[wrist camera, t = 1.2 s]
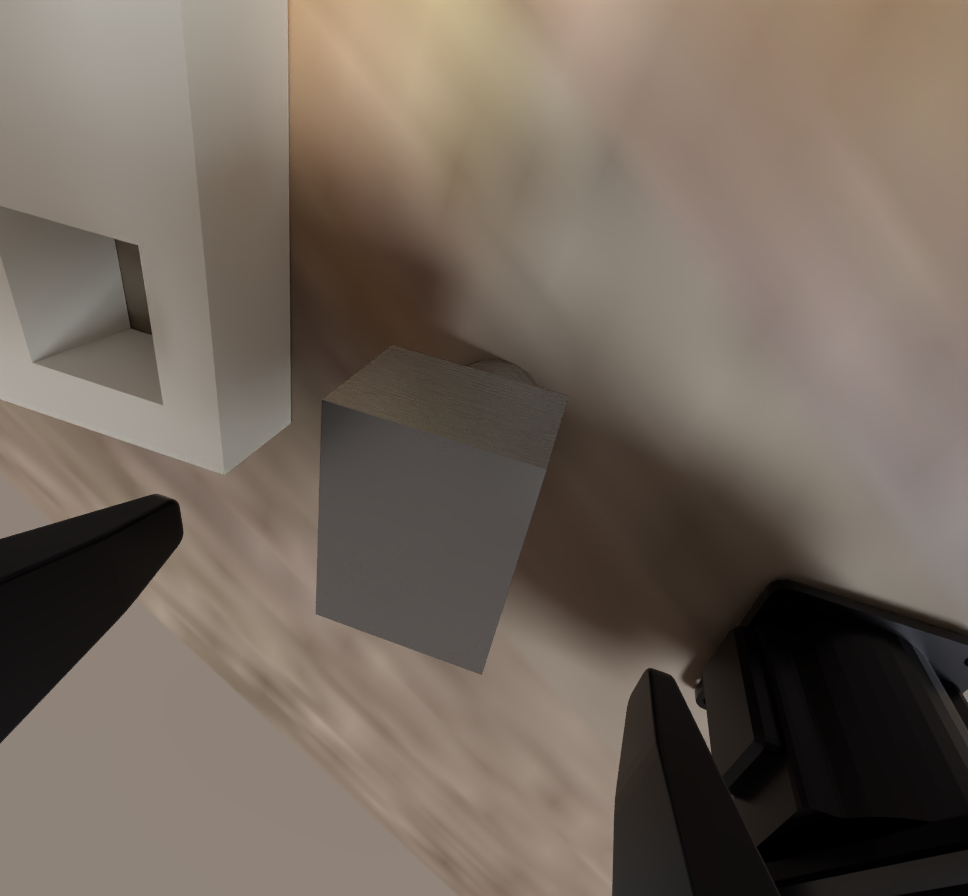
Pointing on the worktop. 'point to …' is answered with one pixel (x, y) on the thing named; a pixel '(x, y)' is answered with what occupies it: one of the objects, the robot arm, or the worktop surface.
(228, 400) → the dock
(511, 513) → the gray rectangular block
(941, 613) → the worktop surface
